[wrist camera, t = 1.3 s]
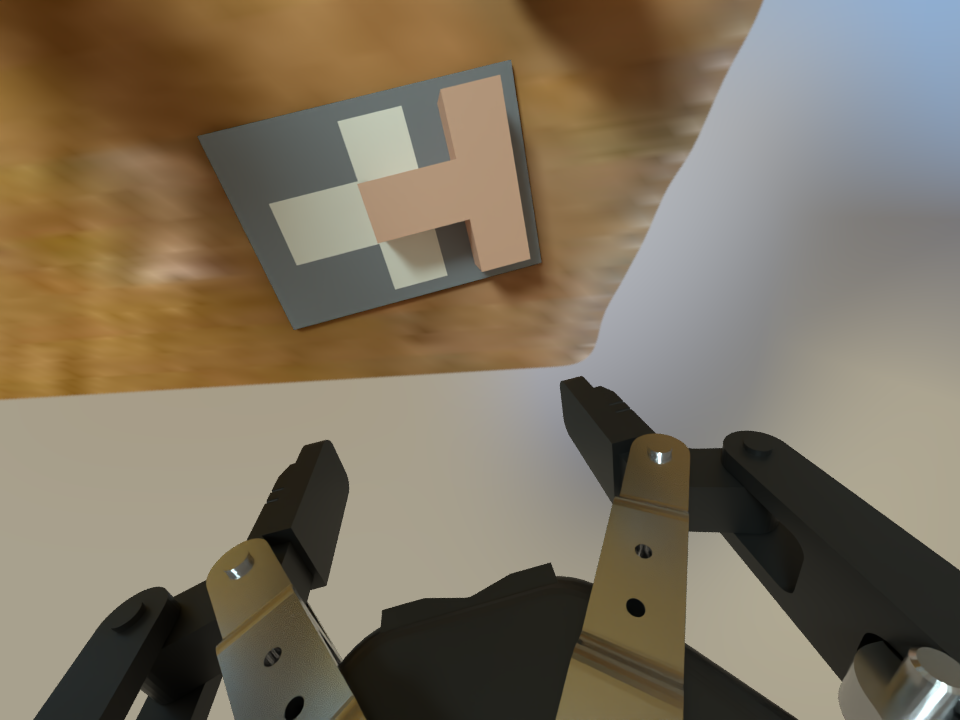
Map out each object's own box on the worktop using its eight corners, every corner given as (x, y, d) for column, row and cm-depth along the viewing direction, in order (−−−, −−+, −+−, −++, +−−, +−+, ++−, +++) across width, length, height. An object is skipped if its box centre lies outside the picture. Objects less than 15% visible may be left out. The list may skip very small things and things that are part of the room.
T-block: (344, 126, 26) (333, 115, 23) (488, 90, 27) (500, 74, 23) (398, 284, 32) (395, 295, 28) (517, 251, 32) (530, 258, 28)
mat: (200, 137, 26) (196, 136, 25) (509, 62, 27) (510, 59, 26) (295, 328, 32) (293, 330, 32) (539, 261, 33) (541, 262, 33)
